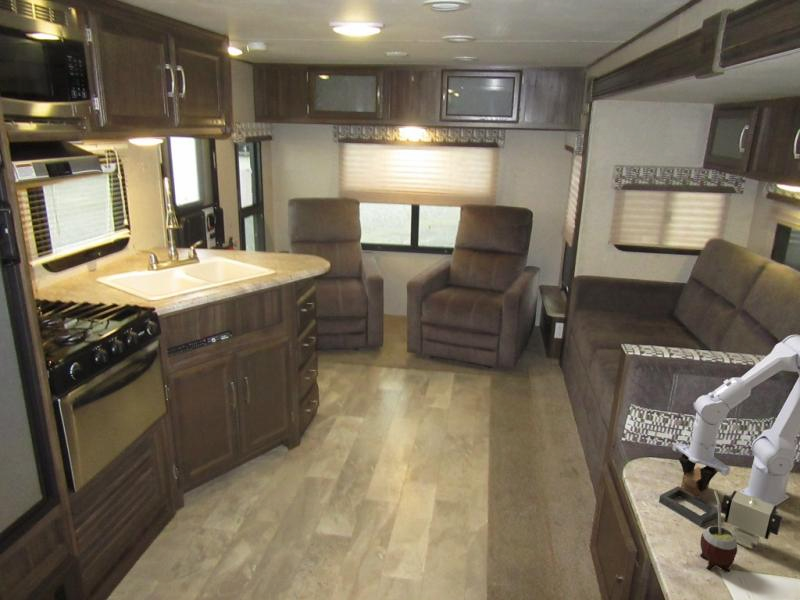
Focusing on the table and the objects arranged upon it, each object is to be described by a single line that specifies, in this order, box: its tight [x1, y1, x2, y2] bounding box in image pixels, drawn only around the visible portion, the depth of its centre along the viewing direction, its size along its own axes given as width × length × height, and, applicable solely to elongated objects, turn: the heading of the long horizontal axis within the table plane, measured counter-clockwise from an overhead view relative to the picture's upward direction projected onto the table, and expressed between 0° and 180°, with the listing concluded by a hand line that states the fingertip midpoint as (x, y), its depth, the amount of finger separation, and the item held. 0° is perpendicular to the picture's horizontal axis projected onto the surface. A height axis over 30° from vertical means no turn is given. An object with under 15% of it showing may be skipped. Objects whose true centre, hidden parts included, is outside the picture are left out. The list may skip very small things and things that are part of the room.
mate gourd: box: [699, 490, 738, 573], centre depth 125 cm, size 8×8×15 cm
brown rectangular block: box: [680, 466, 710, 497], centre depth 153 cm, size 7×4×5 cm, turn 122°
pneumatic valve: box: [720, 490, 784, 550], centre depth 132 cm, size 6×12×12 cm, turn 48°
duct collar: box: [658, 486, 718, 528], centre depth 145 cm, size 8×11×2 cm
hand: (695, 485), depth 153 cm, fingers closed on brown rectangular block, 3 cm apart
